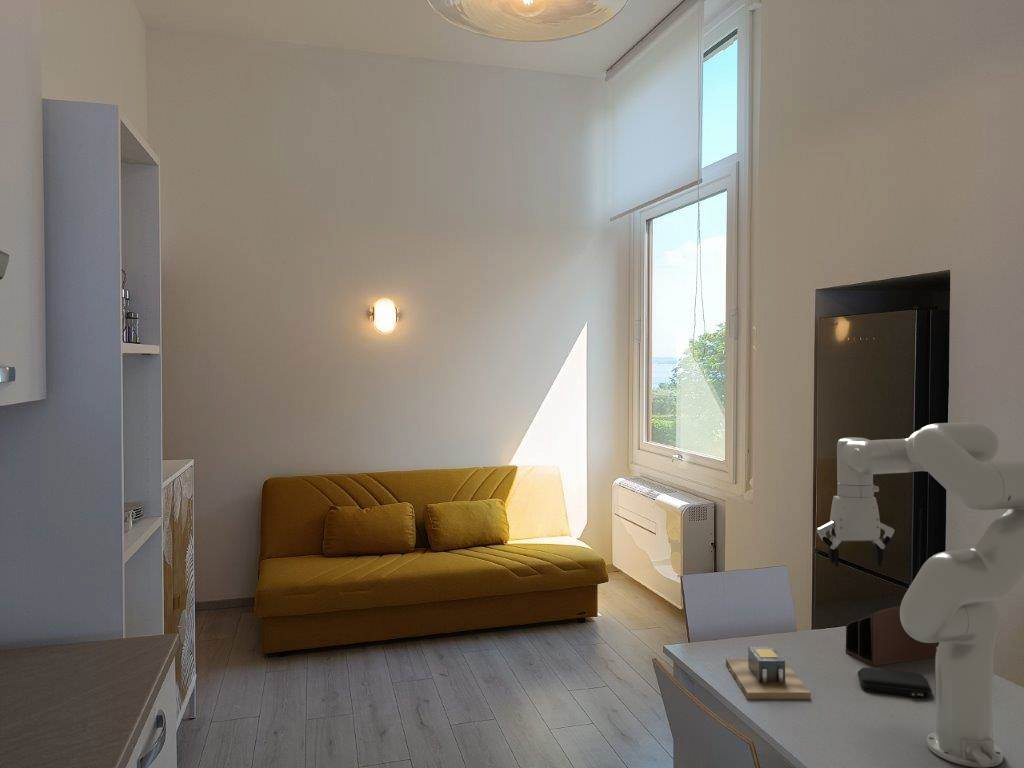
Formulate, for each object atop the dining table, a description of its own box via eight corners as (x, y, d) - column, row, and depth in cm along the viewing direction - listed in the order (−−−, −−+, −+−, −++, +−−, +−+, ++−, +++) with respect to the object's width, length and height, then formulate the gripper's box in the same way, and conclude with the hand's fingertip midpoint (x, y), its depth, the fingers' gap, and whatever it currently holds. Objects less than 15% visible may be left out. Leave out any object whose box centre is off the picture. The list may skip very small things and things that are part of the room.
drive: (748, 667, 183) (748, 646, 183) (773, 667, 183) (773, 646, 183) (759, 682, 174) (758, 660, 174) (785, 682, 174) (785, 660, 174)
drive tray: (810, 699, 169) (810, 677, 169) (747, 699, 169) (747, 677, 169) (782, 664, 189) (782, 644, 188) (725, 664, 189) (725, 644, 189)
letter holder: (937, 657, 191) (937, 602, 191) (873, 667, 186) (873, 611, 186) (906, 644, 201) (906, 591, 201) (844, 653, 195) (844, 599, 195)
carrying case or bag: (861, 695, 171) (934, 703, 166) (861, 681, 171) (934, 690, 166) (856, 676, 181) (925, 684, 176) (856, 664, 181) (925, 671, 176)
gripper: (885, 488, 178) (886, 560, 178) (811, 489, 178) (812, 561, 179) (900, 493, 170) (901, 569, 170) (823, 494, 171) (823, 569, 171)
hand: (855, 564), depth 175 cm, fingers open, 9 cm apart
